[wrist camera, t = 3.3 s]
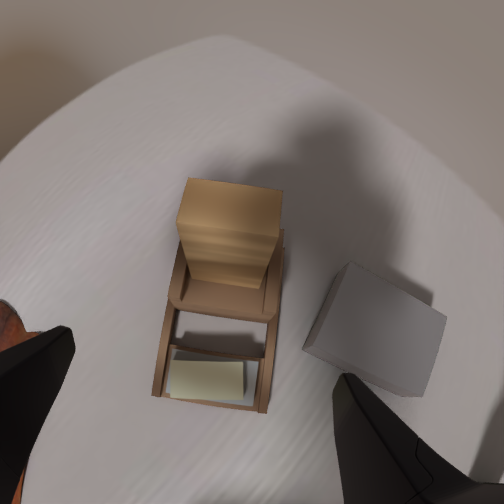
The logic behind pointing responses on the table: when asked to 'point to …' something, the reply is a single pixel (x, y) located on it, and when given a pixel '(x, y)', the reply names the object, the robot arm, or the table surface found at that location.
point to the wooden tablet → (5, 336)
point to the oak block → (228, 230)
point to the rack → (214, 363)
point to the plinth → (377, 332)
